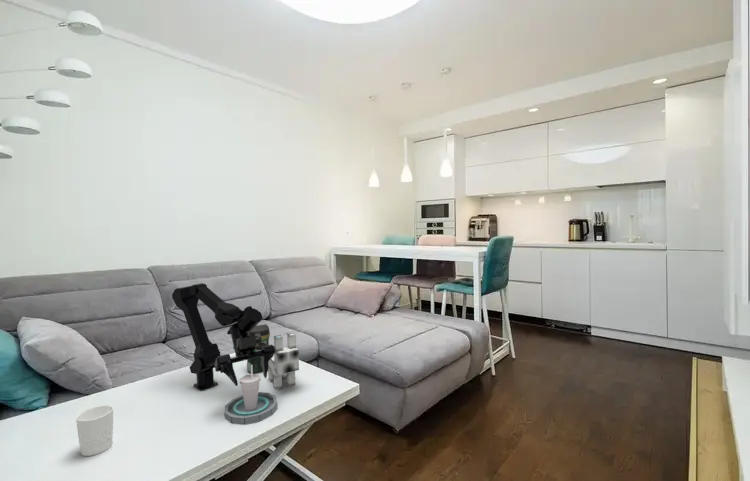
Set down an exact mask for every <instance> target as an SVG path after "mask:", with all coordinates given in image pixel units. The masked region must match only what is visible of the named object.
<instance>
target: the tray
mask: <svg viewBox="0 0 750 481" xmlns="http://www.w3.org/2000/svg"><path fill="white" fill-rule="evenodd" d="M277 410H278V400H277V396H276V395H274V394H272V393H270V392H261V391H258V401H257V407H256V408H255V409H252V410H246V409H245V405H244V399H243V394H241V395H238V396H237V397H235V398H233V399H231V400H230V401H228V403H226V404H225V405H224V411H223V412H224V414H223V415H224V420H226V421H228V423H230V424H234V425H248V424H255V423H259V422H261V421H263V420H265V419H268V418H269V417H271V416H272V415H274V413H275V412H276V411H277Z"/></svg>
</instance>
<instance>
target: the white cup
mask: <svg viewBox="0 0 750 481" xmlns="http://www.w3.org/2000/svg"><path fill="white" fill-rule="evenodd" d="M75 420H76V428H77V429H76V430H77V438H78V443H79V449H80V454H81V455H82V456H83V457H91V456H96V455H98V454H101V453H104V452H105V451H108V449H110V447H111V446H112V445H113V435H114V434H113V433H114V432H113V431H114V406H112V405H97V406H94V407H91V408H89V409H86V410H84V411H82V412H80V413H78V414H77V415H76V417H75Z"/></svg>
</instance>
